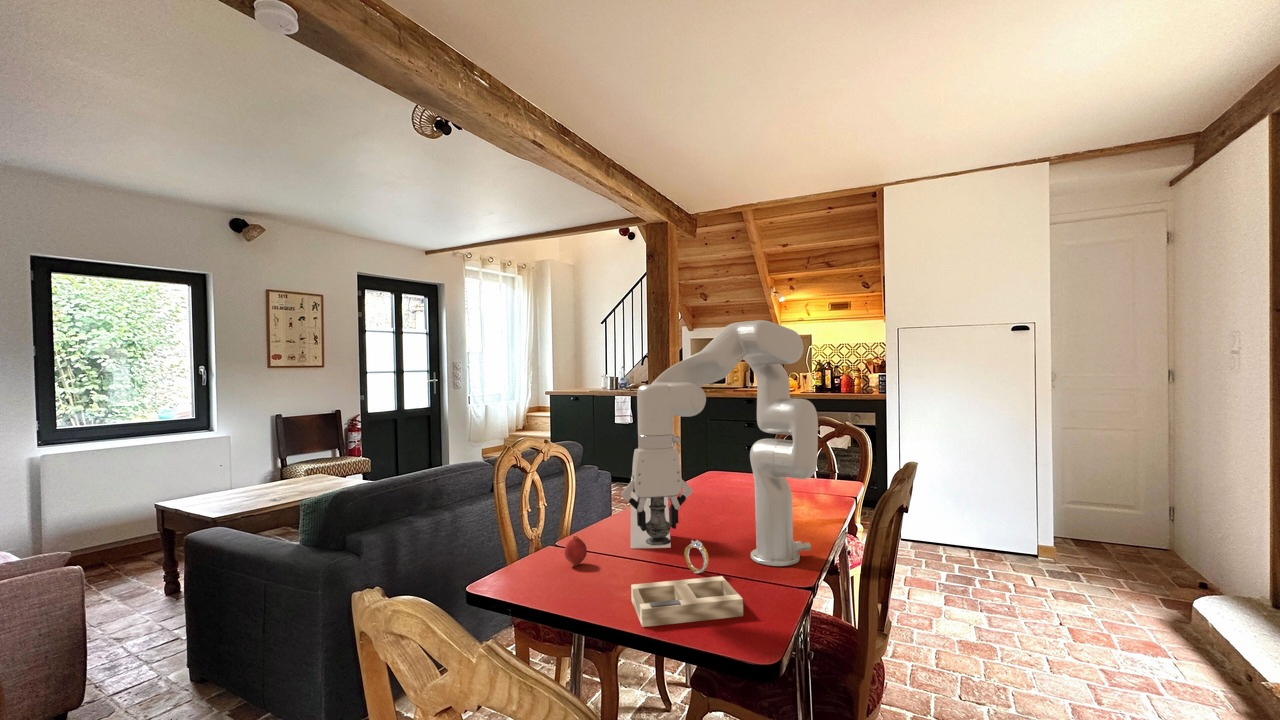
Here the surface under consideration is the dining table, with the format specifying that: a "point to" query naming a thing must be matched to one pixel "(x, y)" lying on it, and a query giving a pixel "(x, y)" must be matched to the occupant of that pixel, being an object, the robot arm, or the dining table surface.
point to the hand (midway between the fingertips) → (657, 527)
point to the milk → (636, 533)
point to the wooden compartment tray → (685, 601)
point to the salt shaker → (658, 523)
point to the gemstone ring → (704, 554)
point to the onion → (575, 551)
